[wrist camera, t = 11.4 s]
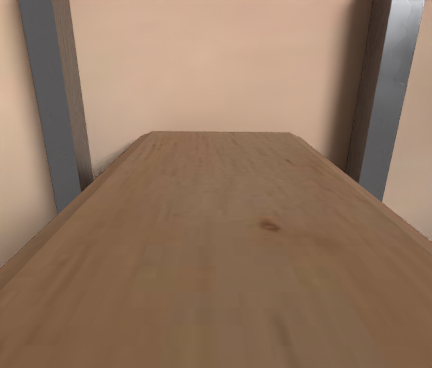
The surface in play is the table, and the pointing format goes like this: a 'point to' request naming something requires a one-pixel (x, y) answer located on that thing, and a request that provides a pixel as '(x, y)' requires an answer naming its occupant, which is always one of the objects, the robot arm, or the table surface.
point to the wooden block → (220, 265)
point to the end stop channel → (74, 112)
